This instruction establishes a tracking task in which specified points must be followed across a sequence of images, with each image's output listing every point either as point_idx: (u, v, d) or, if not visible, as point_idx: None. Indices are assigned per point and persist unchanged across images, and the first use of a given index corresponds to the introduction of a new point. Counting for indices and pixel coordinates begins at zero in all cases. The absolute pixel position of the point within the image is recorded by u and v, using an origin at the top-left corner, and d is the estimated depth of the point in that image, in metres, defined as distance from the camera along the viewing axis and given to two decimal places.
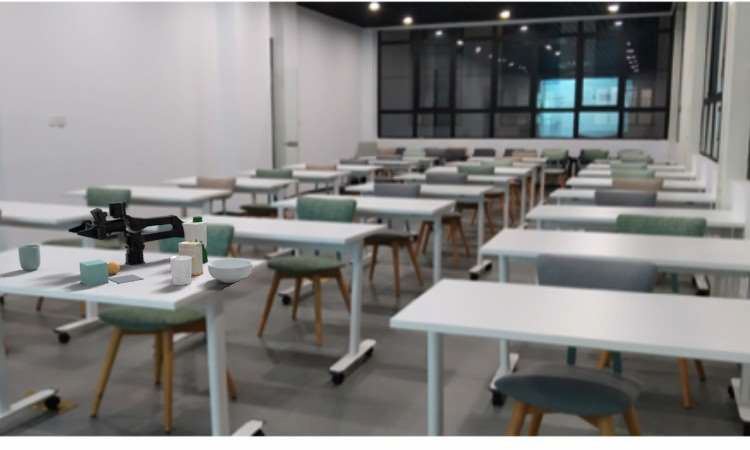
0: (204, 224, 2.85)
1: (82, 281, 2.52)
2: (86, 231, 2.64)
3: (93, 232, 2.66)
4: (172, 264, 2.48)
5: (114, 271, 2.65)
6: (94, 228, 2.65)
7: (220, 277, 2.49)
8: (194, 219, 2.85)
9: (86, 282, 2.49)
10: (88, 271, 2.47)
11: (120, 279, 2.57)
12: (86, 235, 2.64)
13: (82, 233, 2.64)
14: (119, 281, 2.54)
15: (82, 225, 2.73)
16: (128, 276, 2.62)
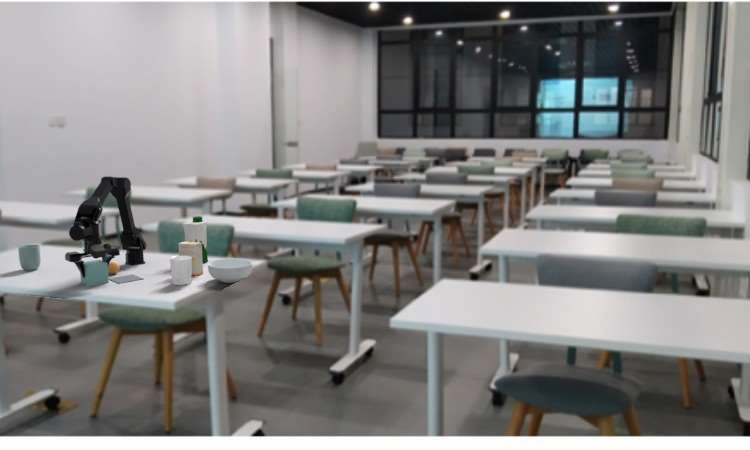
0: (204, 224, 2.85)
1: (82, 281, 2.52)
2: None
3: None
4: (172, 264, 2.48)
5: (114, 271, 2.65)
6: None
7: (220, 277, 2.49)
8: (194, 219, 2.85)
9: (86, 282, 2.49)
10: (88, 271, 2.47)
11: (120, 279, 2.57)
12: None
13: None
14: (119, 281, 2.54)
15: None
16: (128, 276, 2.62)
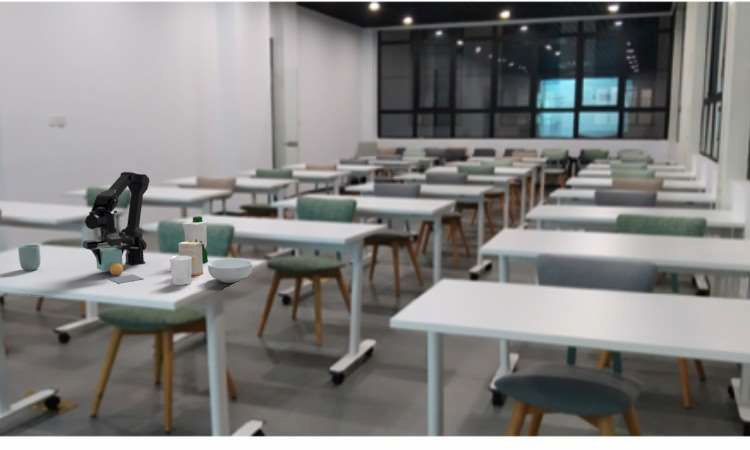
0: (204, 224, 2.85)
1: (98, 267, 2.67)
2: None
3: None
4: (172, 264, 2.48)
5: None
6: None
7: (220, 277, 2.49)
8: (194, 219, 2.85)
9: (102, 268, 2.64)
10: (104, 258, 2.63)
11: (120, 279, 2.57)
12: None
13: None
14: (119, 281, 2.54)
15: None
16: (128, 276, 2.62)
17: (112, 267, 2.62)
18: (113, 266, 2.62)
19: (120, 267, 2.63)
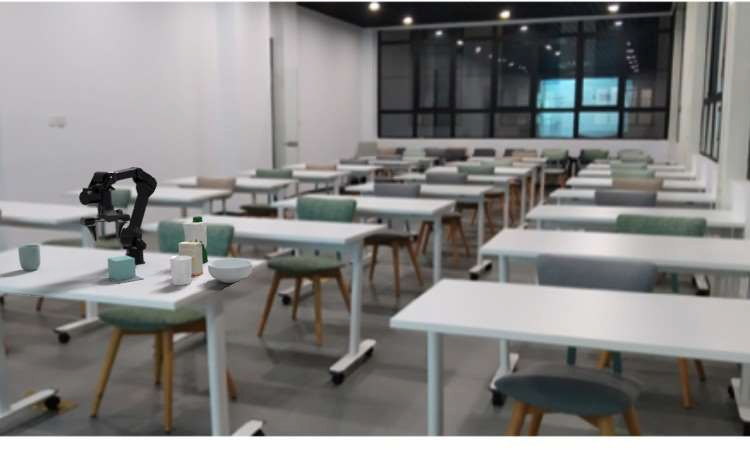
0: (204, 224, 2.85)
1: (110, 276, 2.60)
2: None
3: None
4: (172, 264, 2.48)
5: None
6: None
7: (220, 277, 2.49)
8: (194, 219, 2.85)
9: (114, 277, 2.57)
10: (116, 267, 2.55)
11: None
12: None
13: None
14: (119, 281, 2.54)
15: None
16: None
17: None
18: None
19: None
